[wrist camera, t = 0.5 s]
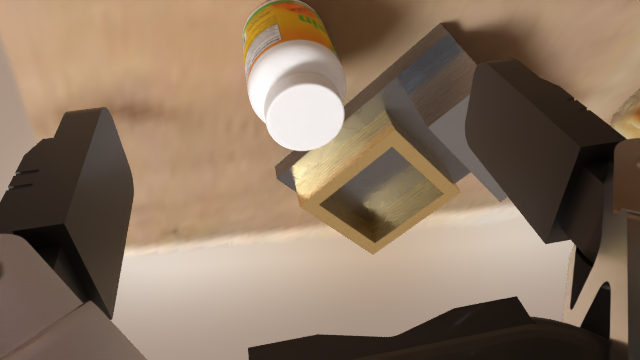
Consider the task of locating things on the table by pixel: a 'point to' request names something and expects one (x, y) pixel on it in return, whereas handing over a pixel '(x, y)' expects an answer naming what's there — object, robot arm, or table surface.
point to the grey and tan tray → (394, 148)
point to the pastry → (628, 118)
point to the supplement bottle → (293, 74)
